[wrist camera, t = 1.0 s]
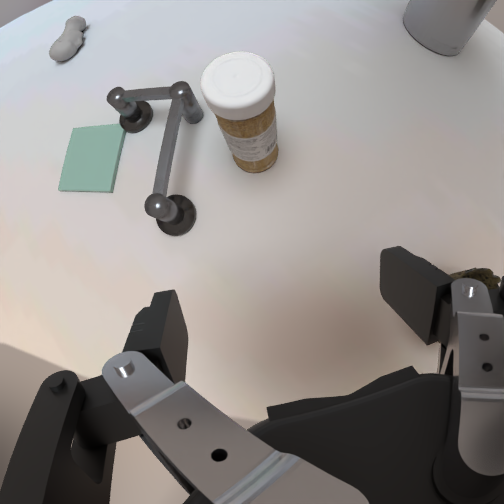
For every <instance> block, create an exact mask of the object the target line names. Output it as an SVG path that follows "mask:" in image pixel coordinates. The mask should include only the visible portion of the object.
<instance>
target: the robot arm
mask: <svg viewBox="0 0 504 504" xmlns="http://www.w3.org/2000/svg"><path fill="white" fill-rule="evenodd" d="M496 1H497V0H410V1H409V4H408V6H407V9H406V11H405V13H404V16H403V21H404V25H405V27H406V29H407V30H408V31H409V33H410V34H411V35H412V36H413V37H414V38H415V39H416V40H417V41H418V42H420V43H421V44H422V45H424V46H425V47H427V48H428V49H430V50H432V51H434V52H437V53H439V54H443V55H449V56H452V55H456V54H458V53H459V52H460V51H461V49H462V48H463V47H464V45H465V44H466V43H467V41H468V40H469V39H470V37H471V36H472V35H473V33H474V32H475V31H476V29H477V28H478V26H479V25H480V24H481V22H482V21H483V19H484V18H485V16H486V15H487V14H488V12H489V11H490V9H491V8H492V7H493V5H494V4H495V2H496ZM380 291H381V295H382V297H383V299H384V300H385V301H386V302H387V303H388V304H389V305H390V307H391V308H392V309H393V310H394V311H395V312H396V313H397V314H398V315H399V316H400V317H401V318H402V319H403V320H404V321H405V322H406V323H407V324H408V325H409V326H410V327H411V329H412V330H413V331H414V332H415V333H416V334H417V335H418V336H419V337H420V338H421V339H422V340H423V341H424V343H425V344H426V345H429V344H432V343H434V342H437V341H440V342H441V343H440V347H439V354H438V367H437V374H434V373H428V374H418V373H417V371H416V370H415V369H414V368H413V366H409V367H407V368H404V369H401V370H399V371H396V372H393V373H390V374H387V375H385V376H382V377H380V378H378V379H376V380H375V381H373V382H371V383H369V384H368V385H366V386H364V387H363V388H361V389H359V390H357V391H355V392H354V393H352V394H350V395H346V396H337V397H324V398H308V399H302V400H298V401H294V402H289V403H285V404H280V405H275V406H270V407H267V412H268V417H269V418H268V419H266V420H263V421H261V422H259V423H257V424H255V425H254V426H252V427H250V428H249V429H247V430H246V429H244V428H243V427H242V426H240V425H239V424H237V423H236V422H235V421H233V420H232V419H231V418H229V417H228V416H227V415H225V414H224V413H223V412H221V411H220V410H219V409H217V408H216V407H215V406H214V405H212V404H211V403H210V402H208V401H207V400H206V399H205V398H203V397H202V396H201V395H200V394H199V393H197V392H196V391H195V390H194V389H192V388H191V387H190V386H189V385H188V384H186V383H185V375H186V362H187V350H188V332H187V327H186V324H185V320H184V317H183V314H182V310H181V307H180V304H179V300H178V297H177V294H176V291H175V290H168V291H162V292H156V293H154V296H153V299H152V302H151V305H150V307H144V308H143V309H142V310H141V311H140V312H139V313H138V314H137V315H136V316H135V319H134V322H133V326H132V327H131V330H130V333H129V335H128V338H127V340H126V343H125V346H124V349H123V352H122V353H119V354H117V355H115V356H113V357H112V358H110V359H109V360H108V361H107V362H106V363H105V364H104V366H103V369H102V375H101V376H98V377H95V378H91V379H88V380H85V381H81V382H80V380H79V379H78V377H77V375H76V374H75V373H74V372H72V371H68V370H64V371H59V372H56V373H54V374H52V375H51V376H49V377H48V378H46V379H45V381H44V382H43V383H42V385H41V386H40V389H39V391H38V393H37V395H36V397H35V399H34V402H33V404H32V406H31V409H30V411H29V413H28V416H27V418H26V420H25V423H24V425H23V428H22V430H21V433H20V435H19V438H18V441H17V443H16V446H15V448H14V451H13V454H12V457H11V459H10V463H9V465H8V468H7V472H6V475H5V477H4V481H3V484H2V487H1V491H0V504H109V501H110V491H111V481H112V472H113V464H114V456H115V449H116V442H118V441H121V440H125V439H128V438H131V437H135V436H138V435H139V436H140V437H141V439H142V440H143V441H144V442H145V444H146V445H147V446H148V448H149V449H150V450H151V451H152V452H153V454H154V455H155V456H156V457H157V458H158V459H159V461H160V462H161V463H162V464H163V465H164V466H165V468H166V469H167V470H168V471H169V472H170V473H171V474H172V476H173V477H174V478H175V479H176V480H177V482H178V483H179V484H180V485H181V486H182V487H183V488H184V489H185V490H186V492H187V493H188V494H189V495H190V496H189V497H188V499H187V500H186V501H185V502H184V503H183V504H504V276H503V277H502V280H501V285H500V288H497V289H489V290H488V289H487V287H486V285H485V284H483V283H482V282H480V281H478V280H475V279H471V278H461V279H457V280H455V279H453V278H452V277H450V276H449V275H447V274H446V273H445V272H443V271H442V270H440V269H438V268H437V267H436V266H434V265H432V264H431V263H430V262H428V261H427V260H425V259H424V258H421V257H418V256H415V255H413V254H412V253H410V252H409V251H407V250H406V249H404V248H403V247H401V246H396V247H392V248H387V249H383V250H382V252H381V256H380ZM72 440H73V443H72ZM71 444H72V447H71Z"/></svg>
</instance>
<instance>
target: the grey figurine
mask: <svg viewBox="0 0 504 504" xmlns="http://www.w3.org/2000/svg"><path fill="white" fill-rule="evenodd" d="M85 28H86V21H85V19H84V18H82V17H79V16H73V17H71V18H70V19H68V20H67V21H66V26H65V30H64V32H63V34H62V35H61V36H60V37H59V38H58V39H57V40H56V41H55V42H54V43H53V45H52V46H51V48H50V51H49V55H50V57H51V58H52V59H53V60H55V61H64V60H67V59H69V58H71V57H72V56H73V55H74V54H75V53H76V52H77V48H79V46H80V45H81V44H82V43H83V41H82V37H83V33H82V32H81V31H83V30H84V29H85Z"/></svg>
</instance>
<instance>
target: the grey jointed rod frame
mask: <svg viewBox="0 0 504 504" xmlns="http://www.w3.org/2000/svg"><path fill="white" fill-rule="evenodd" d="M163 99H172V103H171V107H170V111H169V115H168V119H167V124H166V128H165V132H164V137H163V142H162V146H161V151H160V156H159V161H158V166H157V172H156V177H155V182H154V188H153V194H151V195H150V196H149V197H148V198H147V199H146V201H145V211H146V213H147V214H148V215H150V216H152V217H154V218H156V221H157V224H158V226H159V228H160V229H161V230H162V231H163V232H164V233H166V234H169V235H172V236H180V235H183V234H185V233H187V232H188V231H189V230H190V229H191V228H192V226H193V225H194V223H195V220H196V209H195V207H194V205H193V203H192V202H191V201H190V200H189V199H188V198H186V197H185V196H182V195H171V196H169V197H166V194H167V188H168V182H169V176H170V171H171V165H172V160H173V155H174V150H175V144H176V140H177V135H178V130H179V125H180V121H181V116H182V115H183V116H184V118H185V119H186V121H187V122H188V123H190V124H195V123H198V122H199V121H201V120H202V118H203V111H202V109H201V107H200V105H199V103H198V101H197V100H196V98H195V96H194V94H193V92H192V90H191V88H190V86H189V84H188V83H187V82H184V81H180V82H176V83H175V84H173V85H172V86H171V87H159V88H146V89H136V90H127V91H125V90H124V89H123V88H121V87H116V88H114V89H112V90H111V91H110V92H109V94H108V95H107V102H108V103H109V104H110V105H111V106H113V107H114V108H115V109H116V110H117V111H118V112H119V113H120V114H121V115H120V125H122V126H121V127H122V128H123V129H124V130H125V131H126V132H129V133H136V132H139V131H141V130H143V129H144V128H145V127H147V125H148V124H149V123H150V121H151V119H152V116H153V110H152V108H151V106H150V105H149V104H148V103H147V102H146V101H147V100H163Z"/></svg>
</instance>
